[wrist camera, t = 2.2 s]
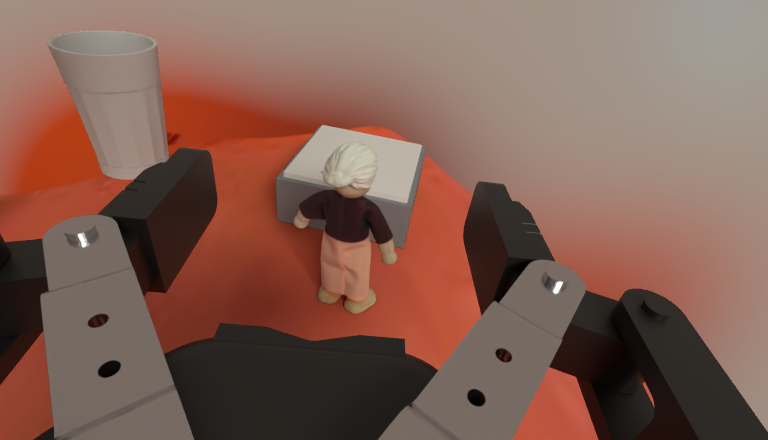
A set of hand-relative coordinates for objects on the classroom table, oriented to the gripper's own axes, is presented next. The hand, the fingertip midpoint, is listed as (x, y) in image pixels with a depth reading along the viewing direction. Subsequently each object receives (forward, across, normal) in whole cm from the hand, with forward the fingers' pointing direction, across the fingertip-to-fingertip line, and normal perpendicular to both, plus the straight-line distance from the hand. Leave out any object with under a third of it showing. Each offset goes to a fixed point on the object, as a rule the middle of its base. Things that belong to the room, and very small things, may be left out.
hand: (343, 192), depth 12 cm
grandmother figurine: (+12, 0, +16) cm, 20 cm away
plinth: (+25, 0, +16) cm, 29 cm away
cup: (+27, +23, +16) cm, 39 cm away
